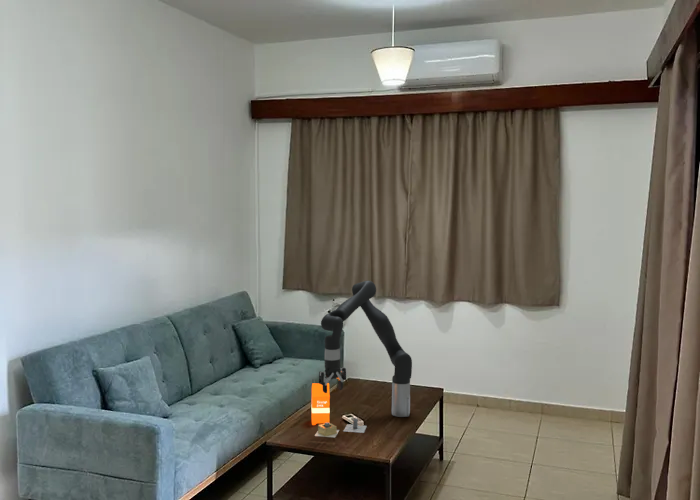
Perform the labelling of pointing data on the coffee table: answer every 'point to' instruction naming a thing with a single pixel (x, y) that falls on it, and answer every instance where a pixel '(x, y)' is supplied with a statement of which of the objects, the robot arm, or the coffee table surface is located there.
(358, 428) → the rod stand
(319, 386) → the orange juice
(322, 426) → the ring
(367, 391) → the coffee table surface
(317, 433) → the hub
